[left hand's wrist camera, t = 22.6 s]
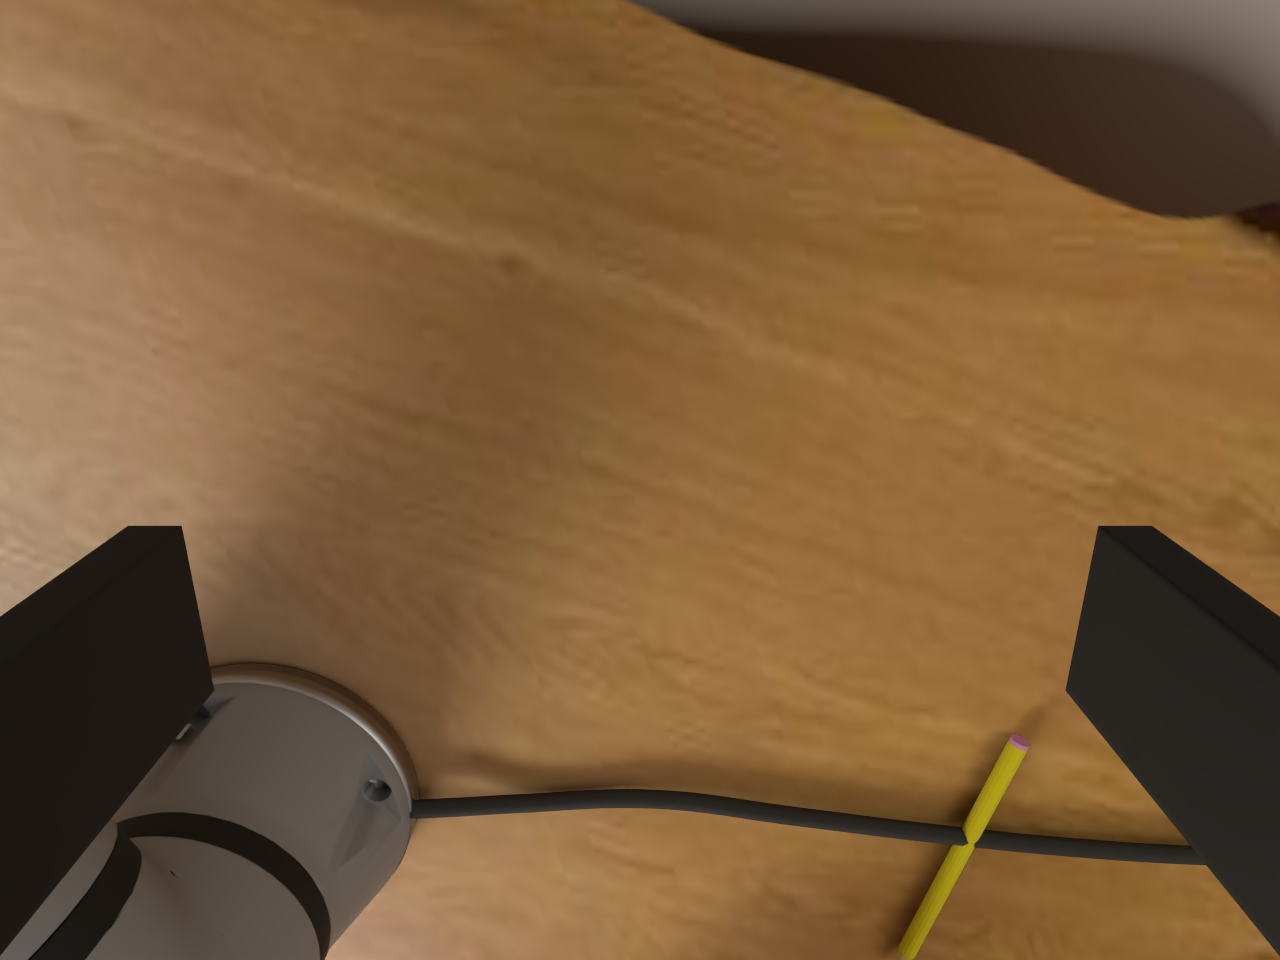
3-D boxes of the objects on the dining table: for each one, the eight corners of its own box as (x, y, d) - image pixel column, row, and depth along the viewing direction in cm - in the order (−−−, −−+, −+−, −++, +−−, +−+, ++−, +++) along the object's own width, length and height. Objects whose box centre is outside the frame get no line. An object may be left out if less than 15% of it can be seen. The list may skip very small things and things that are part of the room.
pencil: (1007, 731, 44) (1015, 744, 44) (1025, 736, 45) (1033, 749, 44) (886, 960, 50) (891, 975, 49) (902, 963, 50) (907, 979, 49)
